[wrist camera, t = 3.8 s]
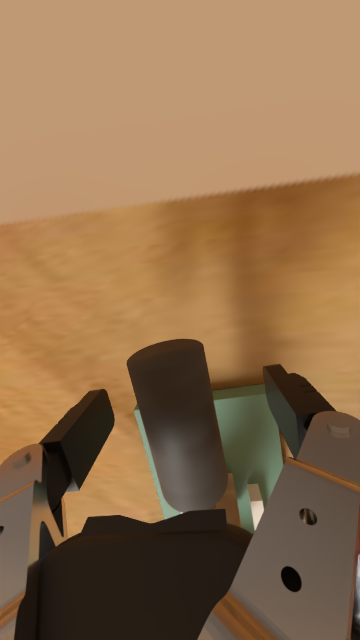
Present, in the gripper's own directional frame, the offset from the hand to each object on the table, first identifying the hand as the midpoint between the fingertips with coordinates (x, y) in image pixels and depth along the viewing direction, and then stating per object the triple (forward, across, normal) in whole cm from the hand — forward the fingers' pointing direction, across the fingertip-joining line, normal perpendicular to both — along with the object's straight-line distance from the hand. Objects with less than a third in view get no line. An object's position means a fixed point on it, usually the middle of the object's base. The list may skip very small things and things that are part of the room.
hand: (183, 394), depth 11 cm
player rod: (+6, 0, +7) cm, 9 cm away
